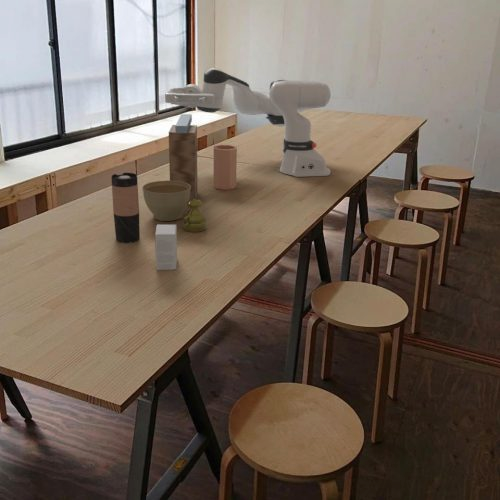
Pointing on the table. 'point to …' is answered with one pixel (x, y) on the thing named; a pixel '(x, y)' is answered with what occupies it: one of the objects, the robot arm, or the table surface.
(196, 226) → the olive green tiered figure
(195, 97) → the robot arm
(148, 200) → the planter bowl
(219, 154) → the crock
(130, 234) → the travel mug
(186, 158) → the stand
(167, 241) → the small box
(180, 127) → the lid slat
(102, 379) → the table surface
